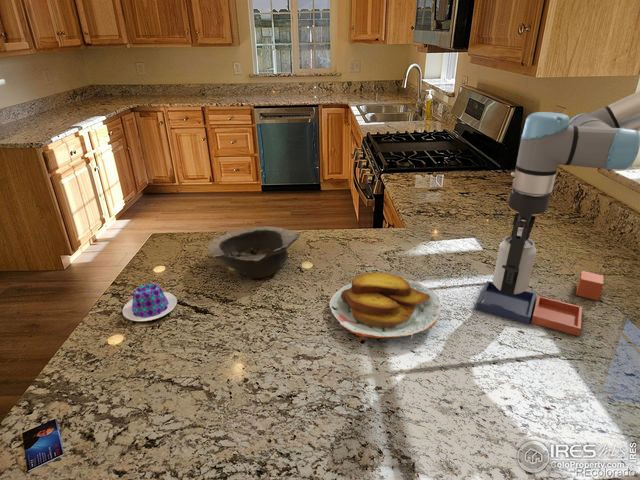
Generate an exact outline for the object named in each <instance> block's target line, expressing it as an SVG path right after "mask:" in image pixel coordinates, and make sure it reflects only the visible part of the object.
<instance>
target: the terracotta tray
mask: <svg viewBox="0 0 640 480" xmlns="http://www.w3.org/2000/svg"><path fill="white" fill-rule="evenodd" d="M534 304H535V305H534V307H533V308H534V309H533V311H532V312H533V313H532V317H531V321H530V322H531V324H534V325H538V326H542V327H545V328H549V329H553V330H557V331H560V332H563V333H567V334H570V335H574V336H577V337H579V336H580V333H581V330H582V318H583V306H579V305H577V304H572V303H570V302H569V303H568V302H565V301H561V300H556V299H554V298H553V299H552V298H549V297H545V296H541V295H537V297H536V300H535V303H534Z"/></svg>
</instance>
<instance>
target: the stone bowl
mask: <svg viewBox="0 0 640 480" xmlns="http://www.w3.org/2000/svg"><path fill="white" fill-rule="evenodd" d="M300 236H301V233H300V232H299V233H297V232H296V233H294V231H293V230H290V229H286V228H282V227H277V226H266V225H264V226H255V227H253V226H252V227H247V228H243V229H238V230H237V229H236V230H233V231H228V232H227V233H225V234H221V235H219V236H216V237H215V238H213V239H212V240H211V241H210V242H209V243H208V244H207V245H206V250H207V252H208V253H209V254H210V255H211V256H212V257H213V258H217V259H221V261H222V262H223V263H224V264H225V265H226V266H227V267H229V268H230V269H233V270H234V271H236V272H237V273H240V274H245V277H246V278H247V280H256V279H262V278H267V277H269V276H271V275H272V274H276V273H278V272H279V271H280V270H282V267H283V264H284V263H286V261H287V259H288V251H287V249H288V248H289V247H291V245H292V244H294V243H295V242H297V240H298V239H299V238H300Z"/></svg>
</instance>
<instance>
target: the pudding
mask: <svg viewBox="0 0 640 480" xmlns="http://www.w3.org/2000/svg"><path fill="white" fill-rule="evenodd" d="M177 304H178V299H177V297H176V295H174V294H172V293H170V292H167V291H163V289H162V287H161V286H159V285H158V284H157V283H145V284H142V285H139V286H137V287H136V289H135V290H133V292H132V298H131V299H130V300H128V301H127V302H126V303H125V304H124V306H123V308H122V315H123V316H124V318H126V320H127V319H128V320H130V321H133V322H148V321H152V320H156V319H160V318H162V317H164V316H166V315H168V314H169V313H171V312H172V311H173V310H174V309H175V307H176V306H177Z"/></svg>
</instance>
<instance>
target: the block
mask: <svg viewBox="0 0 640 480" xmlns="http://www.w3.org/2000/svg"><path fill="white" fill-rule="evenodd" d="M603 287H604V274H603V275H602V274H599V273H593V272H589V271H585V270H581V272H580V275H579V279H578V282H577V285H576V293H575V295H576V296H577V297H581V298H585V299H586V298H587V299H590V300H593V301H599V299H600V296H601V293H602V290H603Z"/></svg>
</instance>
